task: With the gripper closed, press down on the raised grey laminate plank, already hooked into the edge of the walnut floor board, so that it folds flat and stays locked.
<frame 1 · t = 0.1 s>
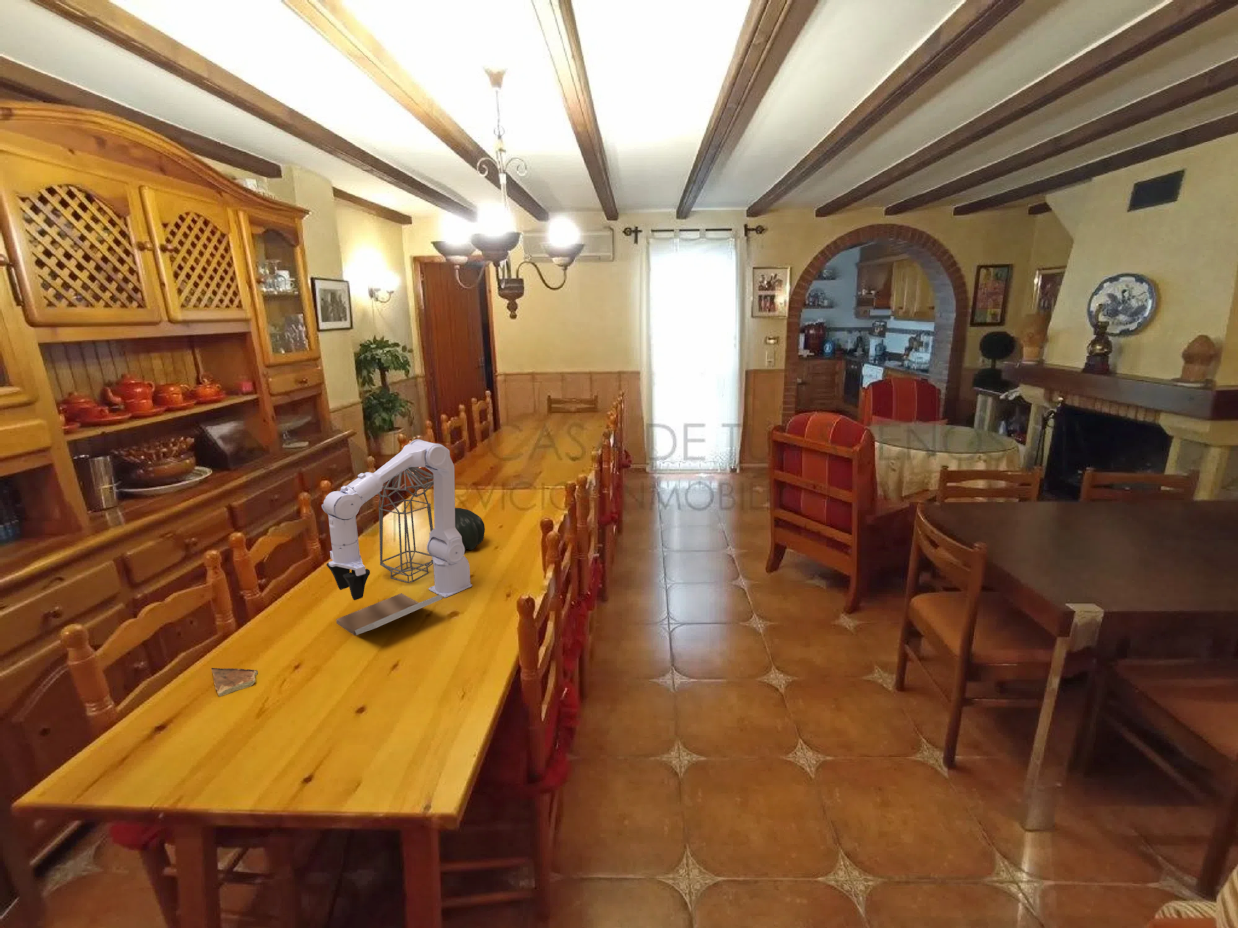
hand: (350, 593, 135), 10 cm above the table, tool pointing down, fingers open, 7 cm apart
squash: (463, 547, 189), on the table
walnut board: (379, 615, 144), on the table
grey plank: (399, 614, 137), point 4 cm above the table, hinge at 30.0°
geometric lantern: (411, 574, 168), on the table
shard: (227, 686, 117), on the table
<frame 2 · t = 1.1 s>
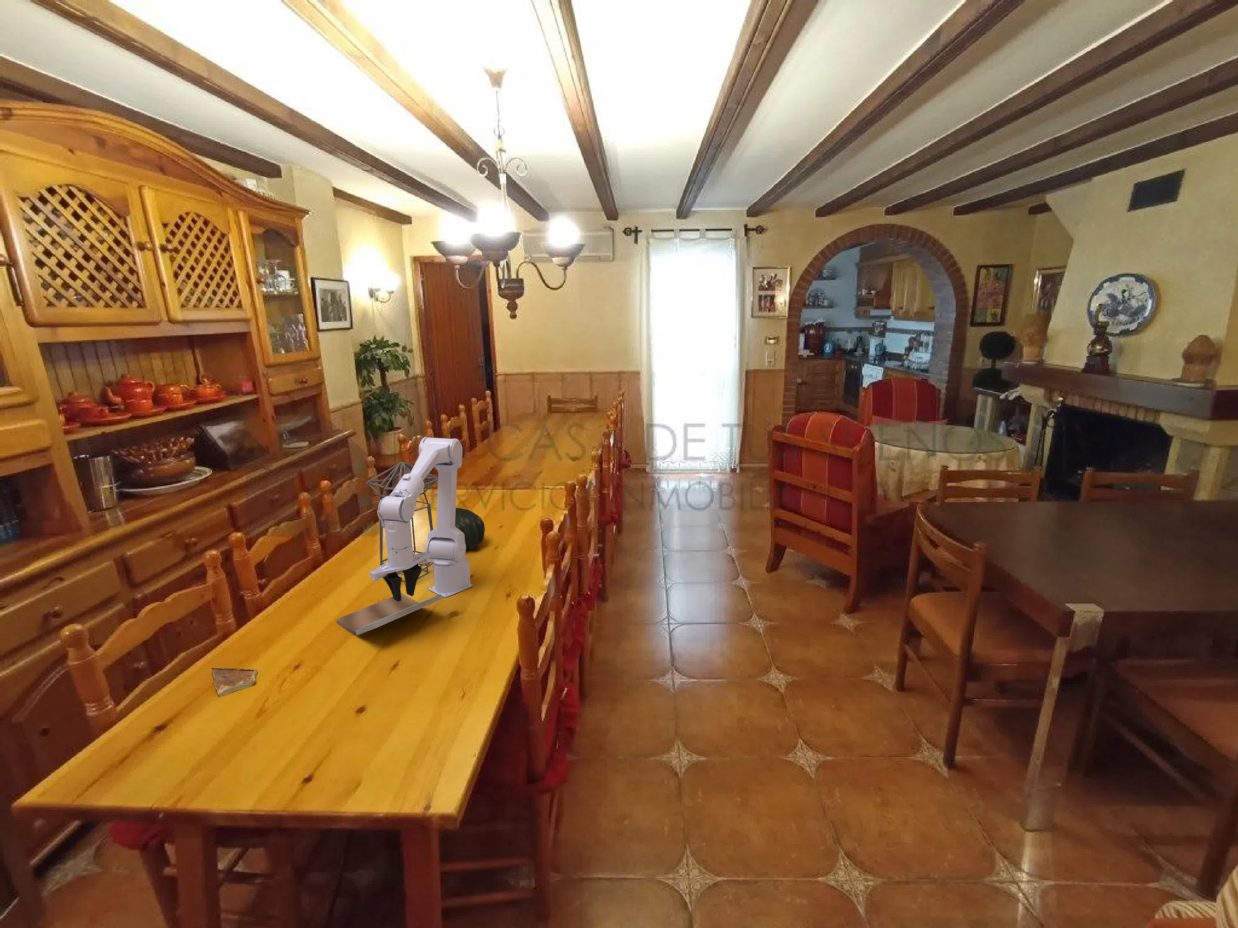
hand: (403, 597, 135), 9 cm above the table, tool pointing down, fingers open, 3 cm apart
nothing on the table moved.
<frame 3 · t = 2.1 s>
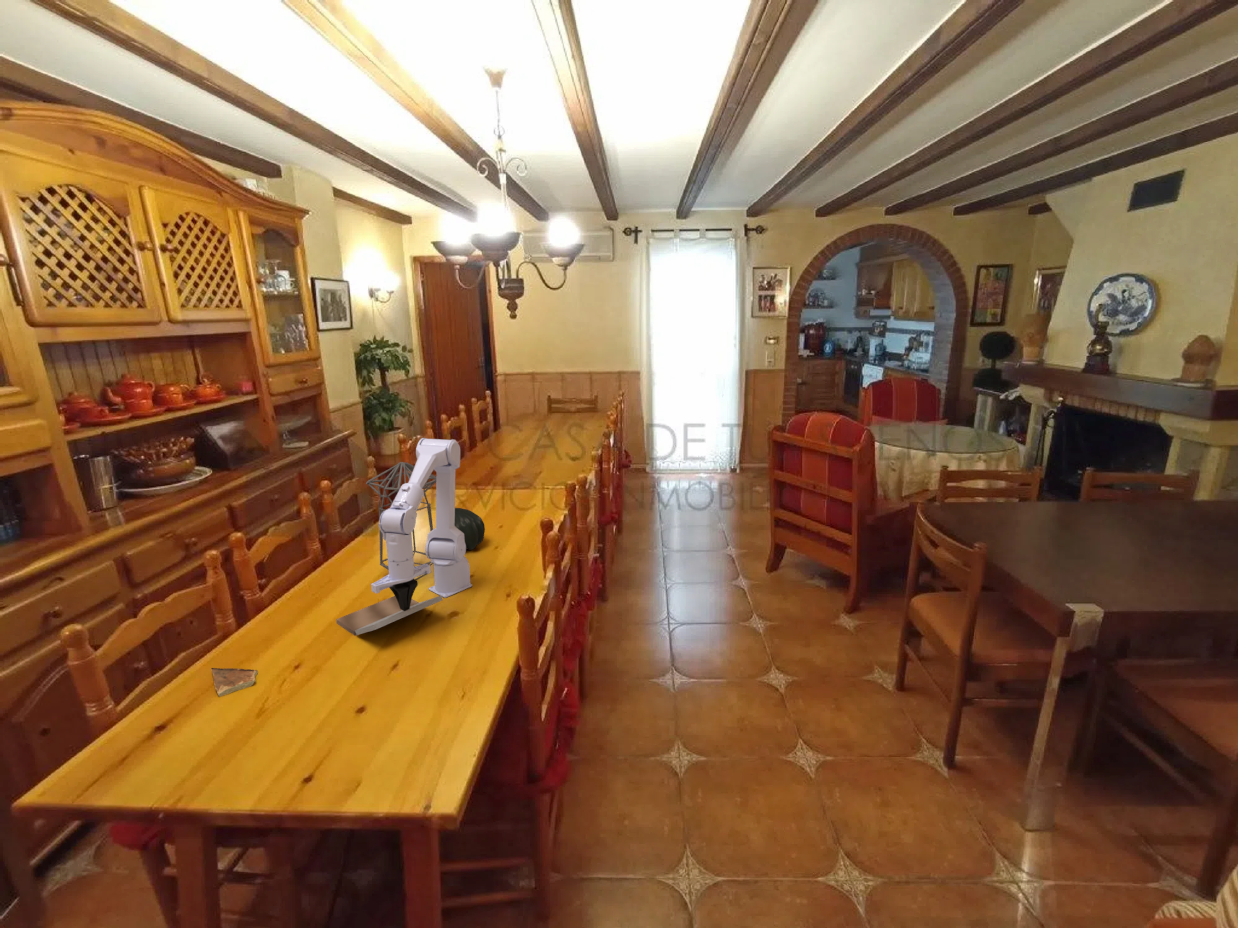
hand: (404, 608, 135), 6 cm above the table, tool pointing down, fingers closed, pressing on grey plank
grey plank: (399, 614, 137), point 4 cm above the table, hinge at 28.5°, touching gripper
everything else where it was.
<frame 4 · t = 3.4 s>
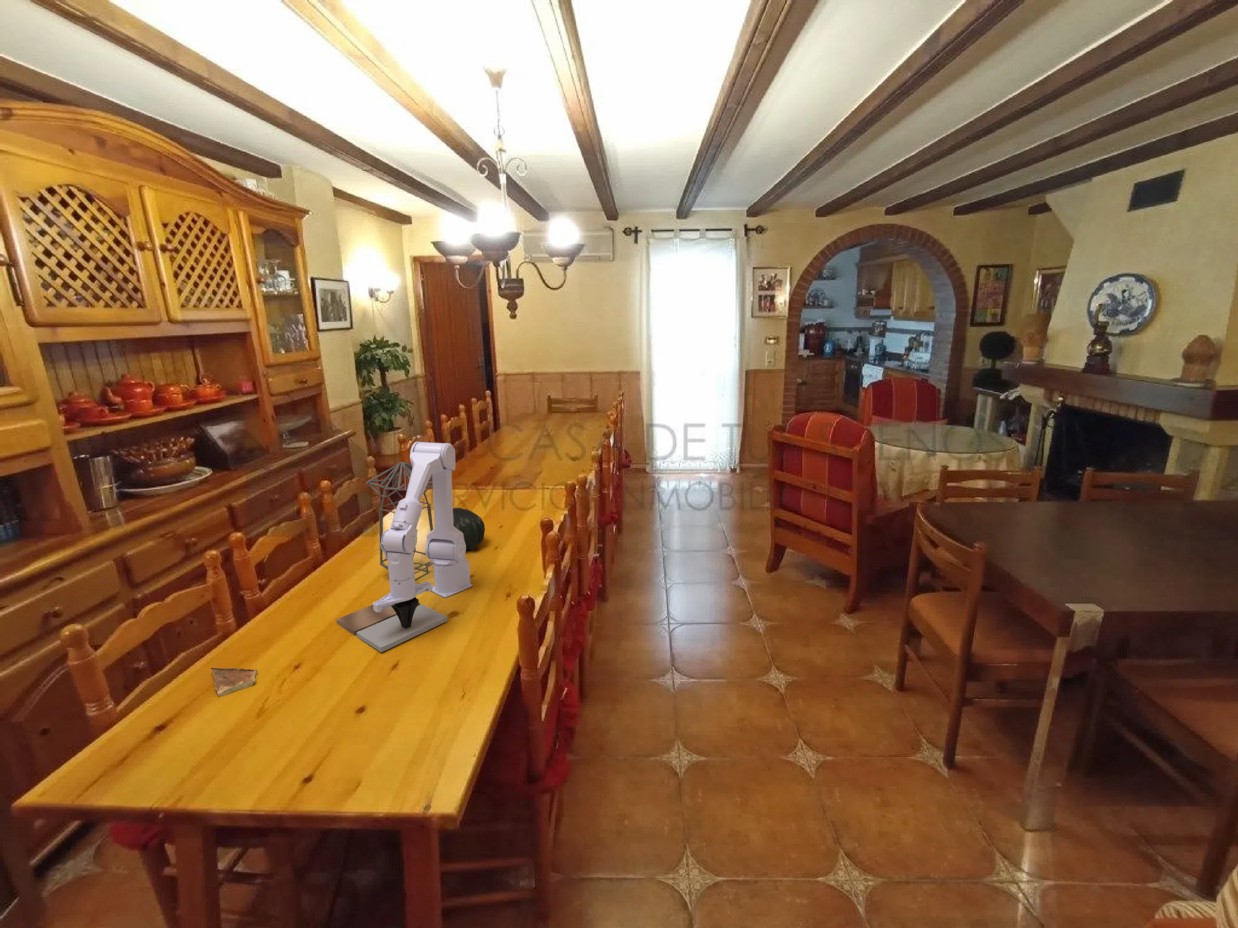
hand: (406, 626, 136), 1 cm above the table, tool pointing down, fingers closed, pressing on grey plank
grey plank: (403, 626, 138), point 1 cm above the table, hinge at 1.7°, touching gripper
everything else where it was.
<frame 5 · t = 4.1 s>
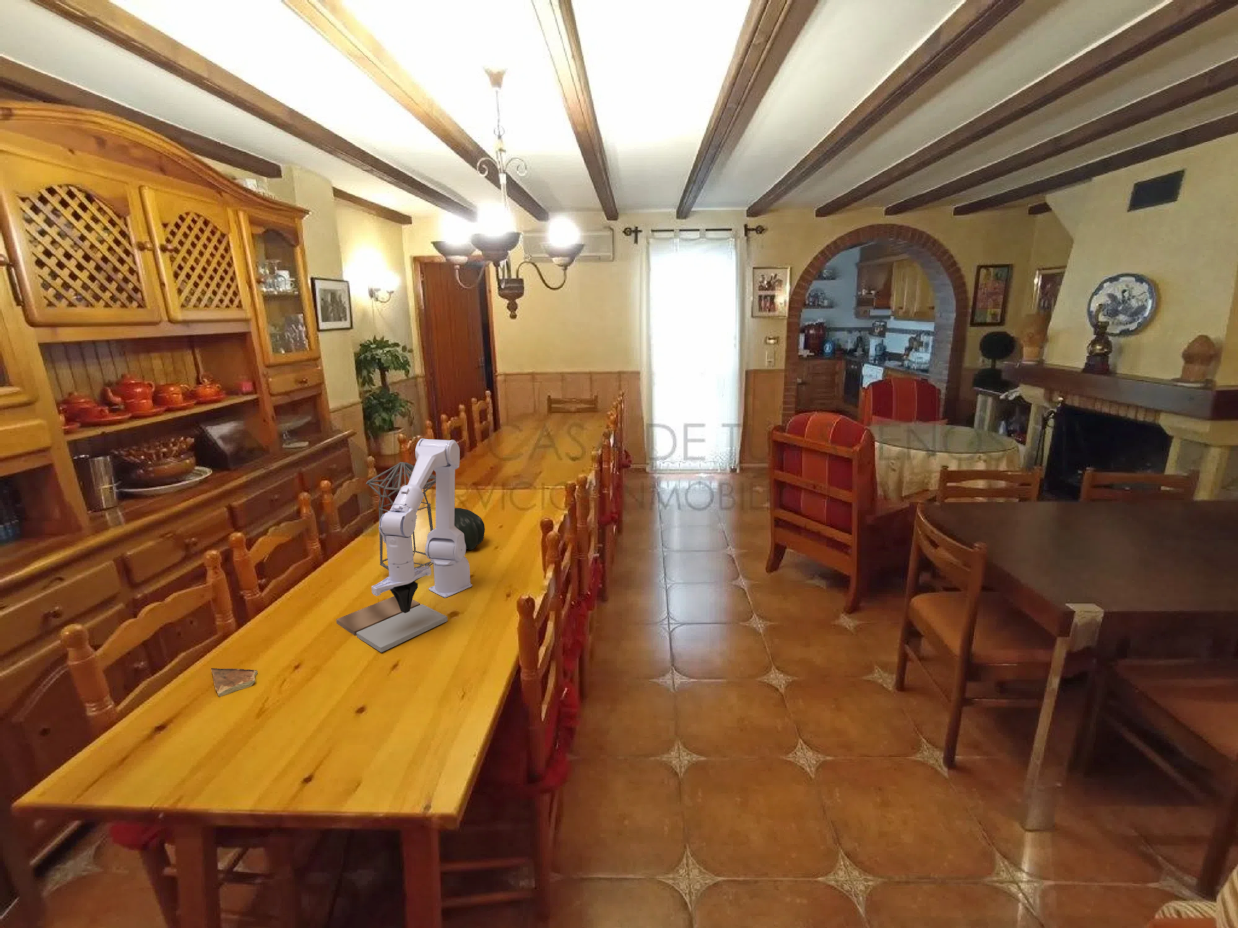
hand: (405, 610, 136), 6 cm above the table, tool pointing down, fingers closed
grey plank: (403, 626, 138), point 1 cm above the table, hinge at 1.7°
everything else where it was.
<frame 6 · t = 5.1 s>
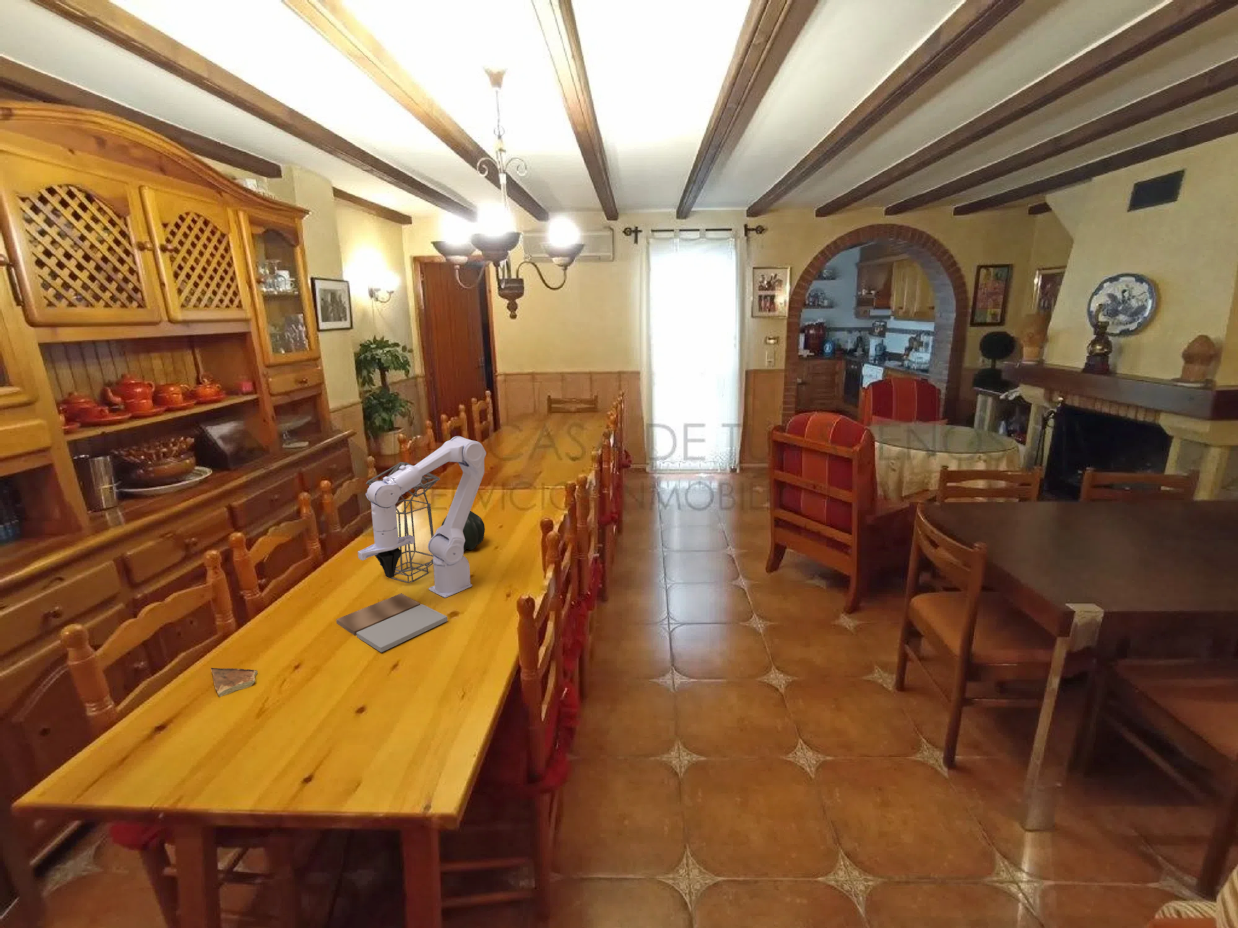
hand: (389, 576, 145), 9 cm above the table, tool pointing down, fingers closed
nothing on the table moved.
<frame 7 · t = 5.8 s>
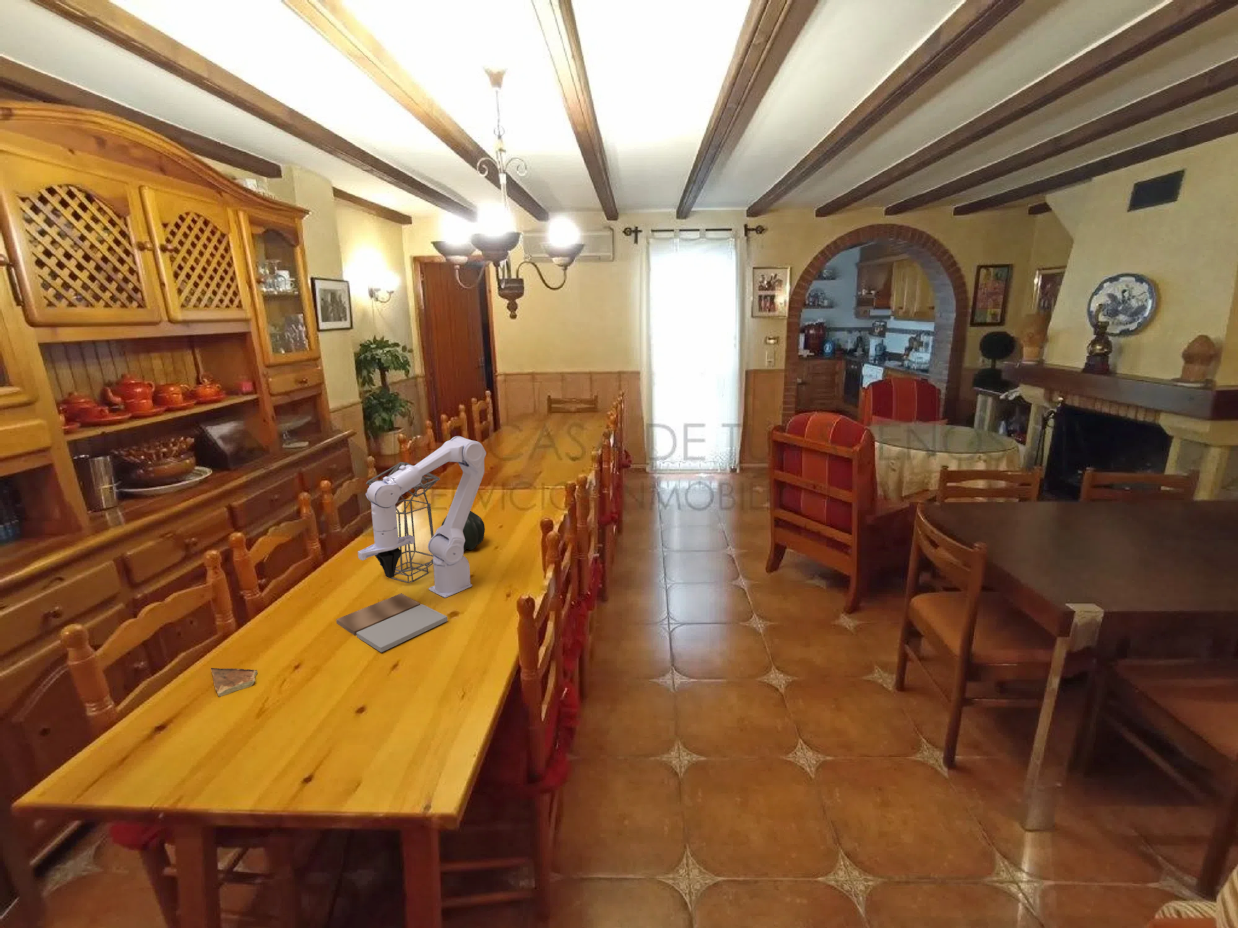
hand: (389, 576, 145), 9 cm above the table, tool pointing down, fingers closed
nothing on the table moved.
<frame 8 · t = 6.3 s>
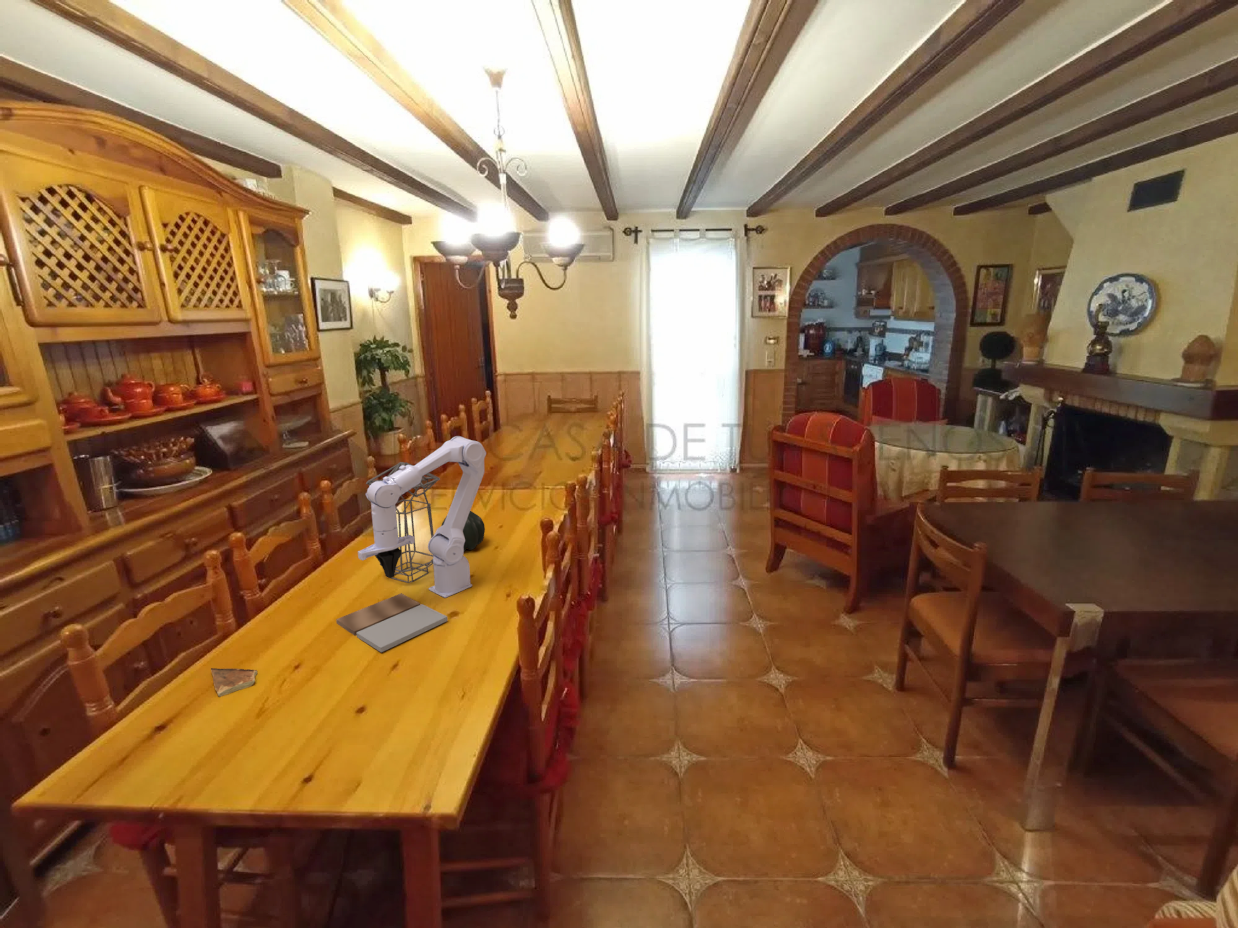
hand: (389, 576, 145), 9 cm above the table, tool pointing down, fingers closed
nothing on the table moved.
at the end: grey plank at +2° (first picture: +30°); the gripper is holding nothing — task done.
